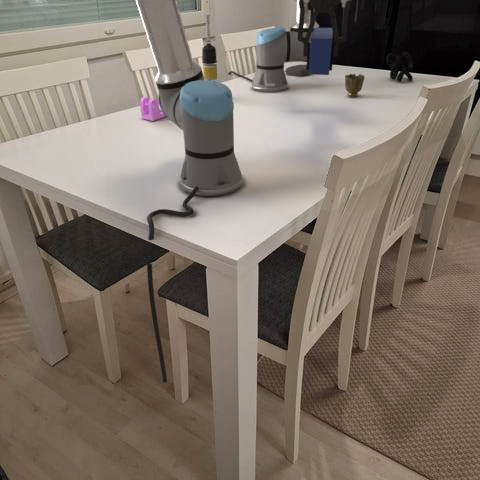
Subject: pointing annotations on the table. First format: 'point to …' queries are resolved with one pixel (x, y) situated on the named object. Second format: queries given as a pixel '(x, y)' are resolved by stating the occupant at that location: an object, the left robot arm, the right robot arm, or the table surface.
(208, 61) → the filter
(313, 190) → the table surface
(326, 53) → the bar
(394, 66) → the squiggle
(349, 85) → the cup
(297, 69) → the dark grey paddle
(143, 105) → the bracket
